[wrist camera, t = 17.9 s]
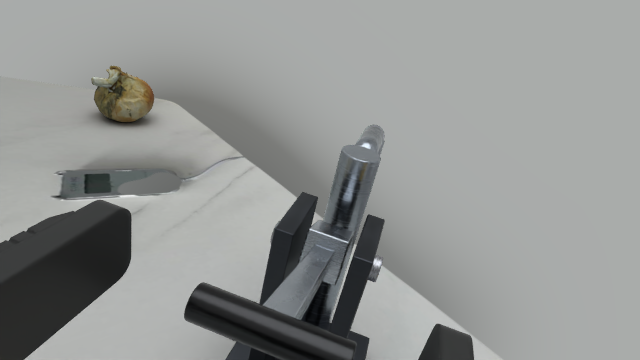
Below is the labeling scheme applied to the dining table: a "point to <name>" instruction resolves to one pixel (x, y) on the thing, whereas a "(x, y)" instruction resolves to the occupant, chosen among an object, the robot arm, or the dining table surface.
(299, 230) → the bracket
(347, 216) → the tap spout
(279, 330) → the tap lever
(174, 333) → the dining table surface
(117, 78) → the onion
